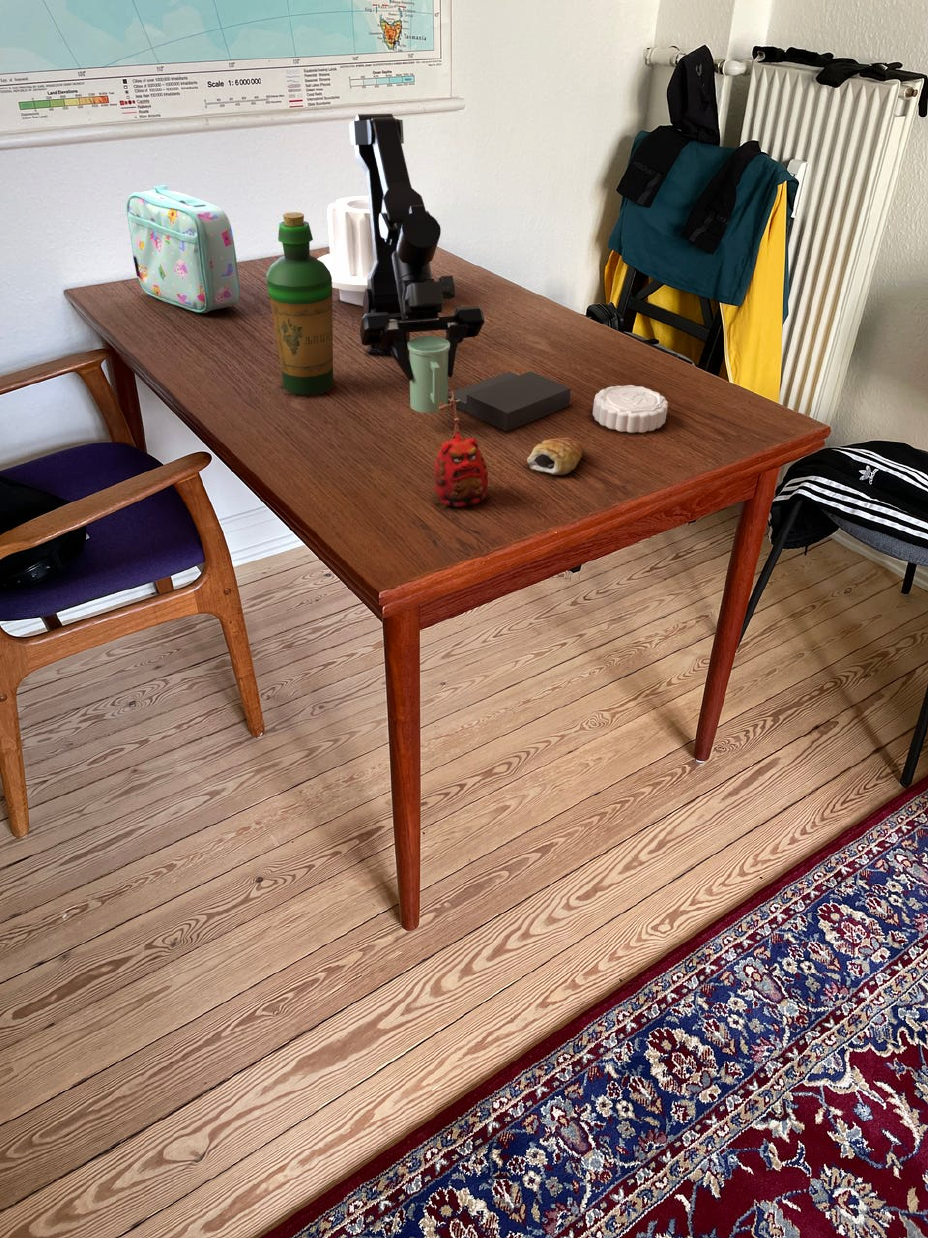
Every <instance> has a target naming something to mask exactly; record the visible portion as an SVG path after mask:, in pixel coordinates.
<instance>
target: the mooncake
mask: <svg viewBox="0 0 928 1238" xmlns="http://www.w3.org/2000/svg"><path fill="white" fill-rule="evenodd" d="M668 406H669V402H668V401H667V399H666V397H665V396H664V395H661V394H660V393H659V392H658V391H653V390H652V389H650V388H647V387H644V386H642V385H641V386H638V385H637V386H636V385H634V384H628V385H614V386H613V385H611V386H608V387H606V388H603V389H601V390H599V392H597V393H596V394H595V396H594V399H593V407H592V416H593V417H594V421H596V422H598V423H599V425H601V426H603V427H606V428H607V429H608V430H616V431H617V432H620V433H624V432H626V433H628V434H636V433H639V434H644V433H646V432H653V431H655V430H656V429H660V428H662V426H663V425H664V424H665V423H666V421H667V420H666V419H667V414H668Z"/></svg>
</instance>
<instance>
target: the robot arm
mask: <svg viewBox="0 0 928 1238" xmlns="http://www.w3.org/2000/svg"><path fill="white" fill-rule="evenodd" d="M349 139H350V140H349V141H350V145H351V146H354V155H355V159H356V160H357V162H358V163H359V165H360V166H361V168H362V169H363V171H364V173H365V176H366V186H367V196H368V198H369V209H370V220H371V231H372V242H373V253H374V265H373V267H372V269H371V271H370V274H369V276H368V278H367V286H368V288H365V293H364V299H363V306H362V309H363V316H362V317H361V322H360V327H359V335H360V341H361V345H363V346H365V347H366V346H370V347H369V349H368V351H367V352H368V354H370V355H379V356H390V357H392V358H393V359H394V361H396V363H397V364H398V366H399V368H400V369H401V371H402V372H403V374H404V376H405V377H406V379H407V380H408V381H409V382H410V381H412V371H411V366H410V362H409V354H408V352H407V351H408V348H407V344H408V342H409V341H410V340H411V338H410V337H411V336H410V333H421V332H432V331H445V338H444V339H446V340H448V341H449V342H450V350H449V356H448V379H449V378H450V379H451V378H452V377H453V374H454V369H455V368H454V367H455V361H456V356H457V349H458V345H459V344H461V343H463V342H464V339H469V338H470V339H472V338H476V337H478V336H479V334H480V332H481V330H482V328H483V326H484V324H485V321H486V320H485V314H484V311H483V309H482V308H481V307H480V306H478V305H471V306H458V307H456V309H455V310H454V311H455V312H454V314H453V315H449V316H447V315H446V316H440V314H441V313H442V312H443V306H444V305H445V300H452V299H454V298H455V297H456V284H455V280H454V276H453V275H442V276H440V277H439V278H438V281H435V278H433V273H432V268H431V262H432V261H433V259H434V257H435V253H436V251H437V247H438V244H439V241H440V238H441V235H442V233H441V231H442V229H441V224H439V222H438V220H437V219H436V218H435V217H434V216H433V215H432V214H431V213H430V212H429V211H428V210H426V206H425V203H424V199H423V196H422V195H421V194H420V193H418V192H417V191H416V190H415V189H414V188H413V187H412V184H411V180H410V176H409V172H408V167H407V163H406V157H405V153H404V150H403V145H402V144H405V140H404V139H405V138H404V121H403V119H398V118H395V117H394V115H393V113H358V114H356V115H355V120H351V121H350V122H349Z"/></svg>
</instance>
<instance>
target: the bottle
mask: <svg viewBox="0 0 928 1238" xmlns="http://www.w3.org/2000/svg"><path fill="white" fill-rule="evenodd" d="M282 217H283V220H282V221H281V222H280V223H279V224H278V234H277V235H278V236H277V241H278V242H280V243H281V244H282V250H283V255H282V256H280V257H279V258H278V259H276V260H275V261H274V262H273V263H272V264H270V266H269V268H268V269H267V272H266V273H265V279H266V286H267V292H268V297H269V303H270V309H271V315H272V321H273V327H274V335H275V339H276V347H277V352H278V357H279V363H280V369H281V375H282V383H283V388H284V389H285V390H286V391H288V392H289V393H292V394H294V395H299V396H317V395H320V394H323V393H325V392H327V391H329V390H330V389H332V387H333V386H334V338H333V337H334V335H333V334H334V333H333V332H334V331H333V328H334V327H333V325H334V323H333V322H334V321H333V288H332V276H331V273H330V271H329V270H328V268H327V267H326V265H325V264H324V263H323V262H322V261H320V260H318V257H315V256H314V255H310V254H311V253H310V250H311V249H310V247H311V246H310V245H311V244H310V243H311V242H312V241H314V237H313V234H312V231H311V227H310V223H309V221H307V220H305V214H304V213H302V212H297V211H296V212H295V211H294V212H285V213H282Z"/></svg>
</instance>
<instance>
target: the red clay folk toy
mask: <svg viewBox="0 0 928 1238" xmlns="http://www.w3.org/2000/svg"><path fill="white" fill-rule="evenodd" d="M453 391H454V390H449V393H451V394H452V398H451V400H450V399H448V400H449V401H450V402H451V404H445V405H444V404H443V403H440V405H439V410H440V411H441V412H443V411H442V410H444V409H445V408H446V409H447V408H452V411H453V424H454V430H453V437H452V438H451V439H450V440H449V441H443V443H442V445H441V446H440V447H441V448H440V449H439V451H438V453H437V456H436V458H435V462H434V491H435V492H434V493H435V494H436V496H437V498H438V500H439V501H440V503H441V504H442V505H443V506H445V507H456V508H462V507H466V505H467V506H468V505H472V506H473V505H478V504H480V503H482V502H483V501H485V500H486V494H487V489H488V486H489V478H488V475H489V469H488V467H487V461H486V459H485V457H484V456H483V454H482V452H481V450H480V448H479V443H478V441H477V440H476V439H475V438H474V437H468V438H462V437H461V432H460V429H459V425H458V424H459V421H460V418H459V417H458V416H457V415H458V414H457V407H456V402H459V401H461V399H460V400H457V401H455V400H454V394H453ZM446 409H445V410H446ZM445 410H444V411H445Z"/></svg>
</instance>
